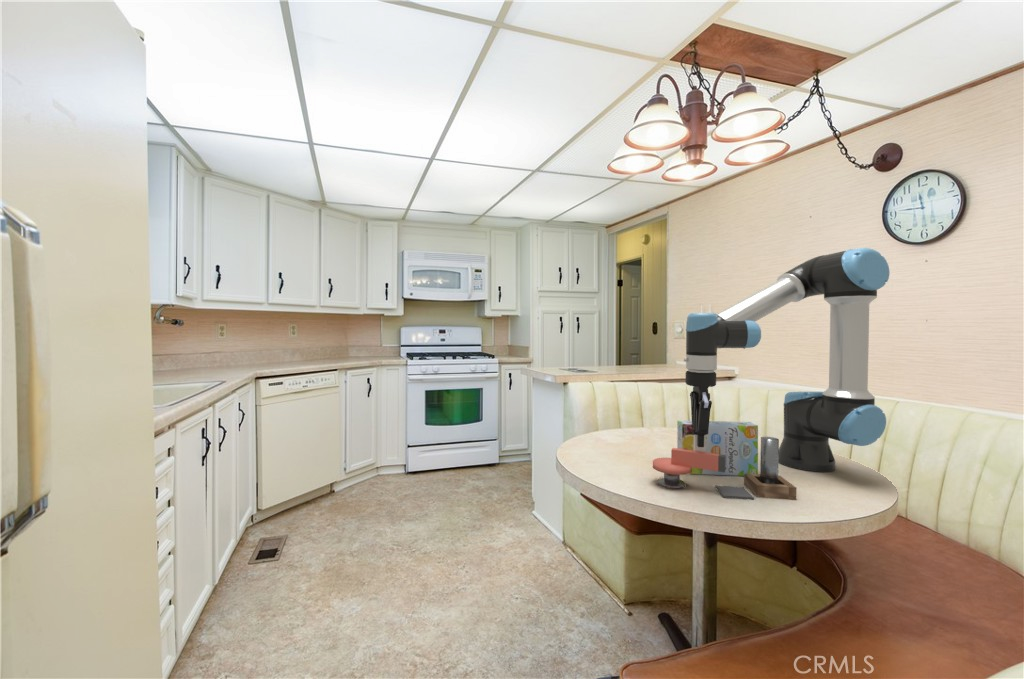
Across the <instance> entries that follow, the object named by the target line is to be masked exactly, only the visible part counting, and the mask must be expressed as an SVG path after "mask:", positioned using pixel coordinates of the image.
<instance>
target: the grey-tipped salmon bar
mask: <svg viewBox="0 0 1024 679" xmlns="http://www.w3.org/2000/svg"><path fill="white" fill-rule="evenodd" d="M670 452H671V454H670V455H671V456H670V457H657V458H654V459H653V460H652V468H653V470H655V471H657V472H660V473H662V474H664V473H666V474H673V475H680V476H682V475H685V476H686V475H690V474H689V473H691V472H692V467H693V468H699V469H705V470H712V471H718V472H725V460H726V455H722V454H714V453H707V452H700V451H693V450H685V449H678V448H677V447H672V448H671V451H670Z"/></svg>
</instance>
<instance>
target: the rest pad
mask: <svg viewBox="0 0 1024 679" xmlns="http://www.w3.org/2000/svg"><path fill="white" fill-rule="evenodd" d="M714 488H715V489H716V490H717V493H719V494H720V495H721V497H722V498H724V499H734V500H735V499H739V500H752V501H755V498H754V496H753V495H752V493H750V492H749V491H748V490H747V489H746V488H745V487H744V486H729V485H728V486H727V485H714Z"/></svg>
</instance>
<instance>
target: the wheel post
mask: <svg viewBox="0 0 1024 679" xmlns="http://www.w3.org/2000/svg"><path fill="white" fill-rule="evenodd" d="M680 476H681V475H673V474H666V473H663V477H660V478H659V479H658V480H657V481H658V482H657V483H658V485H659V486H661V487H664V488H666V489H670V490H671V489H672V490H680V489H684V488H686V482H685V481H683V480H682V479H681V477H680Z"/></svg>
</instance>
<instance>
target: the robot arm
mask: <svg viewBox="0 0 1024 679" xmlns="http://www.w3.org/2000/svg"><path fill="white" fill-rule="evenodd" d="M889 279H890V267H889V263H888V262H887V259H886V258H885V257H884V255H882V254H881V252H879V251H877V250H876V249H873V248H870V247H862V248H852V249H851V248H850V249H847V250H843V251H839V252H833V253H829V254H825V255H818V256H816V257H812V258H811V259H808V260H806V261H804V262H802V263H800V264H799V265H796V266H794V267H793V268H792V269H790V270H788V271H785V272H784V273H781V274H780V275H779V276H778V277H777V279H776V281H775V282H773V283H771V284H769V285H767V286H765V287H764V288H762V289H760V290H758V291H757V292H755V293H753V294H751V295H748V296H747V297H746V298H743V299H741V300H740V301H738V302H737V303H735V304H733V305H731V306H729V307H727V308H725V309H724V310H722V311H720V312H717V313H715V312H694V313H693V312H692V313H689V314H688V315H687V317H686V325H685V326H686V327H685V333H686V334H685V344H686V345H685V357H684V358H683V361H684V362H685V369H687V370H686V371H685V385H687V386H690V387H692V391H691V392H690V393H689V397H690V408H691V410H690V411H691V414H690V415H691V421H692V428H693V431H694V432H693V435H694V449H693V451H700V452H705V441H706V434H708V430H709V421H710V418H711V408H712V404H713V402H712V400H710V399H711V393H709V388H713V387H715V386H716V385H717V373H716V372H715V371H716V370H717V368H718V367H717V366H718V349H743V350H745V349H748V348H749V349H753V348H755V347H756V346H758V345H759V343H760V341H761V339H762V329H761V326H760V325H759V324H758V323H757V321H759V320H761V319H763V318H764V317H766V316H768V315H770V314H772V313H774V312H775V311H777V310H779V309H781V308H782V307H785V306H786V305H788V304H790V303H799V302H800V301H802V300H804V299H807V298H809V297H814V296H820V295H823V300H824V301H825V302H827V303H828V304H829V306H830V309H829V310H830V311H829V312H830V314H829V318H830V319H829V357H828V358H829V360H828V361H829V362H828V363H829V364H828V365H829V366H828V367H829V368H828V371H829V372H828V387H827V389H826V390H824V391H788V392H787V393H785V394H784V399H783V400H784V402H783V438H782V440H781V443H780V444H779V460H778V464H779V463H780V464H781V465H783V466H786V467H790V468H794V469H797V470H798V469H799V470H802V471H809V472H818V473H819V472H821V473H822V472H823V473H824V472H833V471H835V470H836V460H835V457H834V454H833V452H832V448H831V445H830V442H829V440H830V439H831V440H835V441H839V442H841V443H842V444H843V443H844V444H846V445H853V446H857V447H865V446H869V445H872V444H874V443H876V442H877V441H878V439H880V438H881V437H882V435H883V434H884V433H885V429H886V427H887V417H886V414H885V413H884V411H883V410H882V408H881V407H879V406H877V405H876V404H875V403H876V401H875V395H873V394H872V393H871V392H870V391H869V389H868V388H869V380H868V379H869V378H868V377H869V349H870V348H869V344H870V343H869V340H870V339H869V338H870V336H869V334H870V304H871V303H872V302H874V301H875V300H876V299H877V298H878V290H879V289H882V288H883V287H884V286H885V285H886V283H888V281H889Z"/></svg>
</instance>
